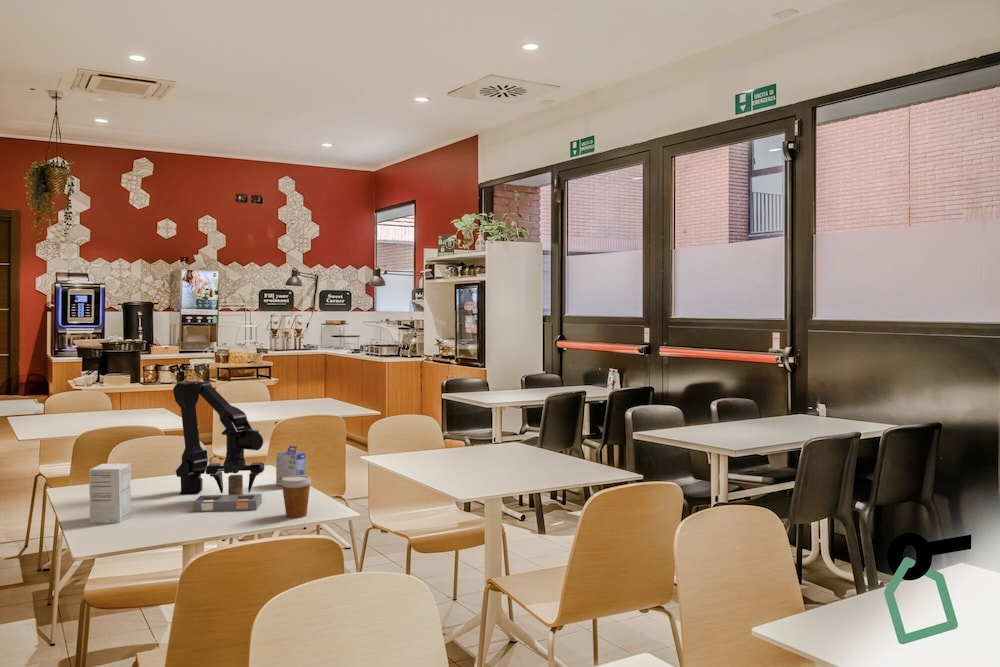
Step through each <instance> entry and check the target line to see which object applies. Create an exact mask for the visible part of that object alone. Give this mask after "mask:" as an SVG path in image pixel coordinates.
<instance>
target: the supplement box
mask: <svg viewBox="0 0 1000 667" xmlns="http://www.w3.org/2000/svg"><path fill="white" fill-rule="evenodd" d="M131 474H132V470H131V463H101V464H99V465H97V466H96V465H95V466H94V467H93V468H90V469H89V470H88V476H89V478H88V481H89V524H121V523H122V522H124V521H125V520H126V519H128V518H129V517H131V516H132V488H131V486H132V485H131Z"/></svg>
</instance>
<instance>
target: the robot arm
mask: <svg viewBox="0 0 1000 667" xmlns="http://www.w3.org/2000/svg"><path fill="white" fill-rule="evenodd" d="M172 393H173V398H174V401H175V402H176V404H177V405H178V406H179V408H180V413H181V422H182V429H183V430H182V431H183V439H184V447H185V448H184V450H183V451H182V452H183V453H182V455H181V464H180V465H179V466H178V468H176V470H175V474H176V477H177V478H180V492H179V495H191V494H193V495H194V494H196V495H197V494H200V492H202V491H203V488H204V487H203V478H202V475H203V474H205V475H209V477H212V478H214V480H215V482H216V484H217V487H218V489H219V491H220V492H219V493H220V494H224V482H223V481H224V480H223V474H238V473H239V471H243V472H247V471H249V472H250V473H249V474H248V477H249V478H248V493H247V494H250V493H251V491H252V488H253V484H254V482H255V479H256V477H257V476H259V475H260V474H261V473H263V472H264V471H265V463H264V462H261V461H260V462H259V461H256V462H252V463H251V464H246V459H245V450H249V451H259V450H260V449H262V447H263V444H264V438H263V436H262V434H260V433H259V432H260V431H259V430H258V429H254V428H253V427H252V424H251V422H250V420H249V419H248V418H247V414H246V413H245V412H244V411H243V410H241V409H240V408H238V407H235V406H233V405H231V404H230V403H229V402H228V401H227V400H226V399H225V398H224V397H223V396H222V394H220V392H219V391H217V389H215V388H214V386H212V383H211V382H209V381H207V380H206V381H198V382H194V381H187V382H185V381H184V382H178V383H176V384H175V386H174V387H173V392H172ZM200 397H202V398H203V399H204V401H206V402H207V404H208V405H209V406H211V408H212V409H213V410H214V411H215V412H216V413H217V414H218V416H219V421H220V423H221V425H222V426H223V427H224V428H225V429H224V430H223V431H222V432H221V435H223V436H224V435H225V436H226V444H225V445H226V452H225V453H226V454H225V459H224V461H223V463H222V462H218V463H216V462H214V463H212V462H211V463H209V464H208V462H209V458H208V450H207V449H203V447H202V446H201V443H200V436H199V435H200V433H199V424H198V417H197V409H196V408H197V407H196V406H197V403H198V401H199V399H200ZM221 463H222V464H223V465H222V464H221Z"/></svg>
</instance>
